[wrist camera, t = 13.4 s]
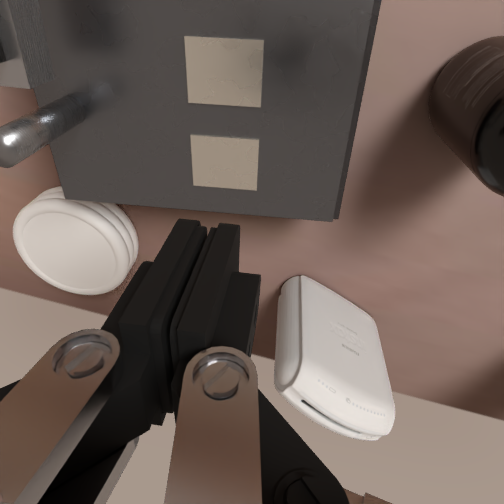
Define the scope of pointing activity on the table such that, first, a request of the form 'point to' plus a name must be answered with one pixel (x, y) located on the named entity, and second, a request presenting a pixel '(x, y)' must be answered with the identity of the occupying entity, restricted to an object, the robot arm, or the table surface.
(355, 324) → the photo printer
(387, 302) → the table surface
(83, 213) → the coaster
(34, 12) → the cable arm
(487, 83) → the supplement bottle
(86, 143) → the grey lever box
